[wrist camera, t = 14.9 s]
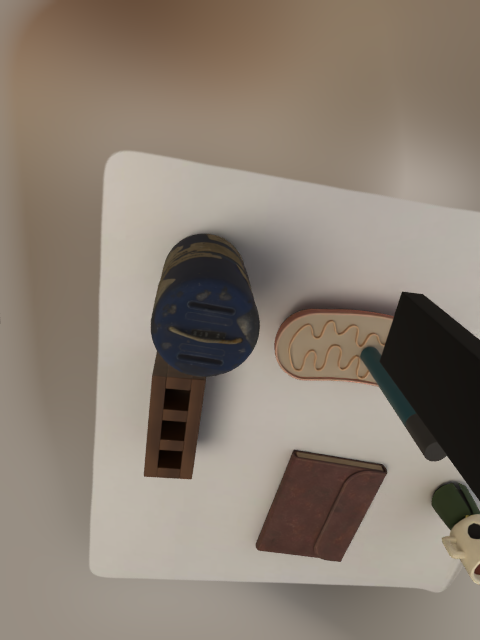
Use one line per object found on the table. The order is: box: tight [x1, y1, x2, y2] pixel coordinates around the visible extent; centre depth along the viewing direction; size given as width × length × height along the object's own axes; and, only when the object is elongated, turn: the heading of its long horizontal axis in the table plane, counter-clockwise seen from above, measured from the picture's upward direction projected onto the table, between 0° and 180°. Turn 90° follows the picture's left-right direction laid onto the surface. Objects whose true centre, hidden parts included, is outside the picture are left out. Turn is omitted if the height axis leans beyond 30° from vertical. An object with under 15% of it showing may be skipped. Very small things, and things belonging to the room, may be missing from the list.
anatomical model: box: [275, 309, 394, 387], centre depth 55 cm, size 23×10×5 cm, turn 78°
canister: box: [151, 234, 260, 377], centre depth 44 cm, size 10×10×18 cm
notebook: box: [256, 450, 387, 562], centre depth 69 cm, size 15×20×2 cm
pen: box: [360, 347, 447, 461], centre depth 45 cm, size 2×2×17 cm
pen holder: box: [144, 351, 206, 479], centre depth 56 cm, size 6×15×7 cm, turn 171°
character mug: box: [432, 483, 480, 585], centre depth 65 cm, size 11×7×13 cm, turn 84°
